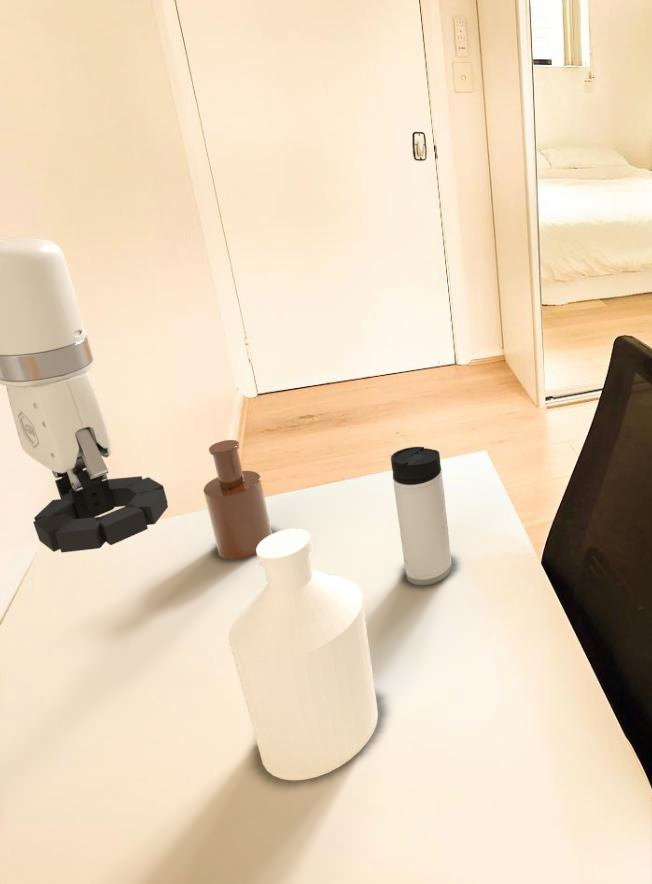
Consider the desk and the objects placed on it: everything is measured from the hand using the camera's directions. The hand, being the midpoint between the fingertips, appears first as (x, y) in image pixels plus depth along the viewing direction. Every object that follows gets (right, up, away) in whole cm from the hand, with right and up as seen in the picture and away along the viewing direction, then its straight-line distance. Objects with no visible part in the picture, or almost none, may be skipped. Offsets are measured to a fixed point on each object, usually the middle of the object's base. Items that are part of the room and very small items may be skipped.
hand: (90, 508), depth 77 cm
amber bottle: (0, -13, +27) cm, 30 cm away
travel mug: (+29, -15, +23) cm, 40 cm away
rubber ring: (+3, -1, -2) cm, 4 cm away
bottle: (+27, -24, -2) cm, 37 cm away
